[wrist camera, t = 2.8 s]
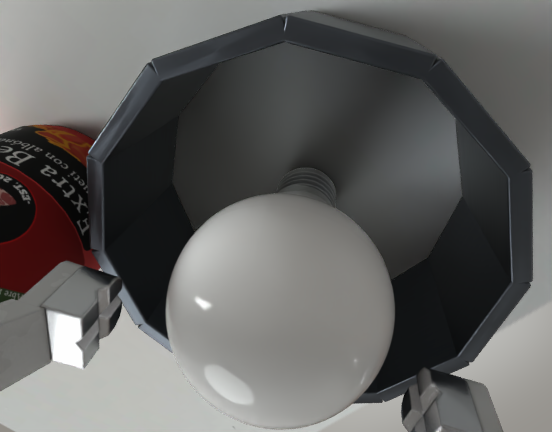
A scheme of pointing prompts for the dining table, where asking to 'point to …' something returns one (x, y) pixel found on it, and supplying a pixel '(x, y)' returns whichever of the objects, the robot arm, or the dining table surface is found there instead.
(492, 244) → the dark grey polygonal container
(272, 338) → the lightbulb
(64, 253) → the canned food
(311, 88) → the dining table surface
